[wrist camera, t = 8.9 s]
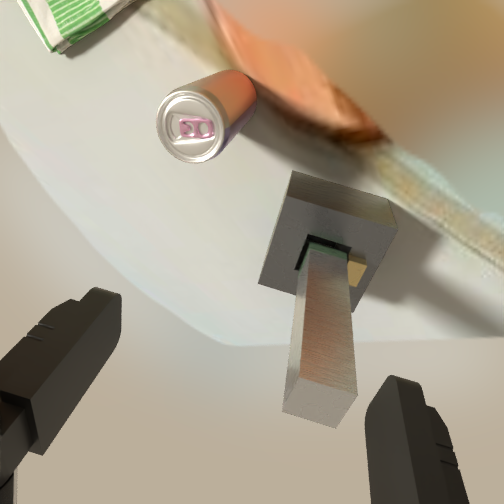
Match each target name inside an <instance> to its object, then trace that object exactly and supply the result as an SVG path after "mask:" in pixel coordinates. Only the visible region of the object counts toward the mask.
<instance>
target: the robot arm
mask: <svg viewBox="0 0 504 504" xmlns="http://www.w3.org/2000/svg"><path fill="white" fill-rule="evenodd" d="M121 303H122V298H121V295H120V294H118V293H114V292H111V291H108V290H104V289H101V288H97V287H94V288H92V289H91V290H89V292H88V293H87V294H86V295H85V296H84V297H83V298H82V299H81V300H80V301H75V300H72V299H70V300H68V301H66V302H64V303H62V304H60V305H58V306H56V307H55V308H53V309H51V310H50V311H49V312H48V313H47V314H46V315H45V316H44V317H43V318H42V319H41V320H40V321H39V323H38V325H35V326H34V327H33V328H32V329H31V330H30V331H29V332H28V333H27V336H26V337H23V338H22V339H21V340H20V341H19V342H18V343H17V344H16V345H15V346H14V347H13V348H12V349H11V350H10V351H9V352H8V353H7V354H6V355H5V356H4V357H3V358H2V359H1V360H0V504H17V466H18V465H19V463H20V462H21V461H22V459H23V458H24V456H25V455H26V454H27V452H28V451H30V452H33V453H36V454H39V455H43V454H44V453H45V452H46V450H47V449H48V447H49V446H50V444H51V443H52V441H53V440H54V438H55V437H56V435H57V434H58V432H59V431H60V429H61V428H62V426H63V425H64V423H65V422H66V421H67V419H68V418H69V416H70V414H71V413H72V412H73V410H74V409H75V407H76V406H77V404H78V403H79V401H80V400H81V398H82V396H83V395H84V394H85V392H86V391H87V389H88V388H89V386H90V385H91V384H92V382H93V380H94V379H95V378H96V376H97V374H98V373H99V372H100V370H101V369H102V367H103V366H104V364H105V363H106V361H107V360H108V358H109V357H110V355H111V354H112V352H113V351H114V349H115V347H116V345H117V343H118V341H119V338H120V333H121V307H122V304H121ZM365 436H366V448H367V459H368V471H369V482H370V495H371V504H469V500H468V497H467V493H466V490H465V487H464V483H463V480H462V476H461V473H460V470H458V463H457V459H456V456H455V453H454V452H453V445H452V442H451V439H450V435H449V432H448V428H447V426H446V425H445V423H444V422H443V420H442V419H441V417H440V415H439V414H438V412H437V411H436V409H435V408H433V407H430V406H427V405H426V403H425V399H424V395H423V391H422V387H421V386H420V384H419V383H417V382H414V381H410V380H407V379H404V378H400V377H397V376H394V375H390V376H388V377H387V379H386V380H385V382H384V383H383V385H382V386H381V388H380V389H379V391H378V392H377V394H376V396H375V397H374V398H373V400H372V401H371V403H370V404H369V407H368V409H367V412H366V416H365Z"/></svg>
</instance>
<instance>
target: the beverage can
mask: <svg viewBox="0 0 504 504" xmlns="http://www.w3.org/2000/svg"><path fill="white" fill-rule="evenodd" d="M256 105H257V95H256V91H255V88H254V86H253V84H252V82H251V81H250V80H249V79H248V78H247V77H246V76H245V75H244V74H242V73H241V72H238V71H235V70H224V71H220V72H218V73H215V74H213V75H210V76H208V77H205V78H202V79H200V80H197V81H195V82H192V83H189V84H187V85H184V86H182V87H179V88H177V89H175V90H173V91H172V92H171V93H169V94H168V95H167V97H166V98H165V99H164V100H163V102H162V103H161V105H160V107H159V109H158V112H157V116H156V128H157V133H158V136H159V138H160V140H161V142H162V144H163V146H164V147H165V148H166V150H167V151H168V152H169V153H170V154H171V155H173V156H174V157H176V158H177V159H179V160H181V161H184V162H187V163H202V162H205V161H208V160H210V159H213V158H214V157H216V156H217V155H219V154H220V153H221V152H222V150H223V149H224V148H225V147H226V146H227V145H228V144H229V142H230V141H231V140H232V139H233V138H234V137H235V136H236V134H237V133H238V132H239V131H240V130H241V129H242V128H243V126H244V125H245V124H246V123H247V122H248V121H249V120H250V118H251V117H252V116H253V114H254V112H255V109H256Z"/></svg>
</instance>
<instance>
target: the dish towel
mask: <svg viewBox="0 0 504 504" xmlns="http://www.w3.org/2000/svg"><path fill="white" fill-rule="evenodd" d="M16 1H17V2H18V4H19V5H20V7H21V9H22V10H23V12H24V14H25V15H26V17H27V18H28V20H29V22H30V23H31V25H32V26H33V28H34V30H35V31H36V32H37V34H38V35H39V37H40V38H41V40H42V42H43V43H44V45H45V46H46V48H47V49H48V51H49V52H50V53H53V52H56V51H57V52H58V54H61V53H62V52H63V51H65V50H66V49H67V48H68V47H69V46H71V45H73V44H75V43H76V42H77V41H79V40H80V39H82V38H84V37H85V36H86V35H87V34H89V33H91V32H93V31H95V30H96V29H97V28H99V27H101V26H102V25H103V24H105V23H107V22H108V21H110V20H111V18H112V17H113V16H114V15H115V14H117V13H118V12H119V11H121V10H122V9H124V8H125V7H127V6H128V5H130V4H131V3H133V2H135V1H136V0H16Z"/></svg>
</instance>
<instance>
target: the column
mask: <svg viewBox="0 0 504 504" xmlns="http://www.w3.org/2000/svg"><path fill="white" fill-rule="evenodd" d="M357 396H358V393H357V381H356V369H355V357H354V343H353V331H352V318H351V306H350V293H349V281H348V268H347V253H345V252H342V251H339V250H335V249H332V248H329V247H325V246H322V245H319V244H315V243H312V242H310V244H309V247H308V249H307V252H306V254H305V257H304V259H303V262H302V264H301V267H300V270H299V274H298V284H297V293H296V301H295V309H294V317H293V326H292V334H291V342H290V350H289V359H288V367H287V375H286V384H285V391H284V400H283V409H282V412H285V413H288V414H291V415H294V416H298V417H301V418H304V419H307V420H310V421H314V422H317V423H320V424H323V425H326V426H329V427H332V428H336V427H337V426H338V424H339V423H340V421H341V420H342V418H343V417H344V415H345V414H346V412H347V411H348V409H349V408H350V406H351V405H352V403H353V402H354V400H355V399H356V397H357Z"/></svg>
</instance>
